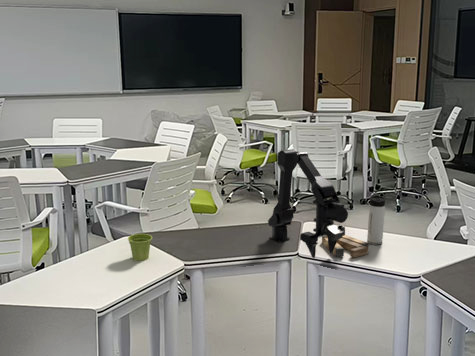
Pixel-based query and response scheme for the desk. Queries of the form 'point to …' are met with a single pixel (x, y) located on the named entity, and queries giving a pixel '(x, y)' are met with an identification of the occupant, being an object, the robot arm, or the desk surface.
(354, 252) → the tan rectangular beam
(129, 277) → the desk surface
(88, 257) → the desk surface
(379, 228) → the travel mug
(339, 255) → the hinged leg
